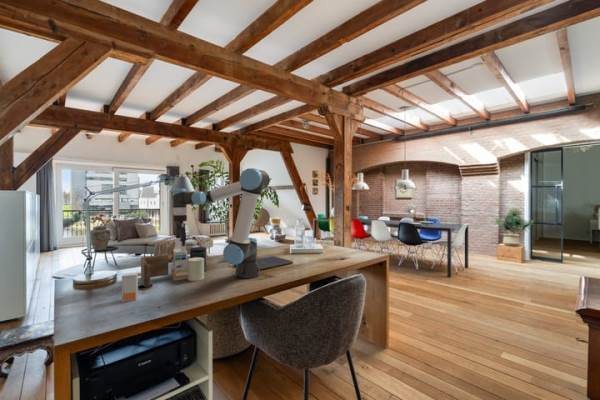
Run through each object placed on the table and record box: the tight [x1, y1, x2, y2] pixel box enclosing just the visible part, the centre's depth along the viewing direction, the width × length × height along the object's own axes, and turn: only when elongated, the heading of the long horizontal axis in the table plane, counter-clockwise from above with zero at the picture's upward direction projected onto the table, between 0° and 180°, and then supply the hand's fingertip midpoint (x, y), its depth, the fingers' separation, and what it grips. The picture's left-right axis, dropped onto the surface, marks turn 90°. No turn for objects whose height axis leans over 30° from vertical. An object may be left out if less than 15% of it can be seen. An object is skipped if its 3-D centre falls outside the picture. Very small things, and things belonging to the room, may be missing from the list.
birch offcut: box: [170, 267, 188, 276], centre depth 168 cm, size 9×7×3 cm
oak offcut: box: [170, 272, 188, 281], centre depth 168 cm, size 10×8×3 cm
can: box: [187, 257, 205, 282], centre depth 165 cm, size 9×9×12 cm
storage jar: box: [189, 246, 207, 273], centre depth 180 cm, size 10×10×15 cm
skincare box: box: [121, 272, 139, 303], centre depth 131 cm, size 6×4×12 cm
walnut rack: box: [140, 254, 170, 288], centre depth 162 cm, size 22×15×12 cm
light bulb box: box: [172, 248, 188, 271], centre depth 168 cm, size 11×7×11 cm, turn 30°
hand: (180, 250), depth 168 cm, fingers open, 13 cm apart
